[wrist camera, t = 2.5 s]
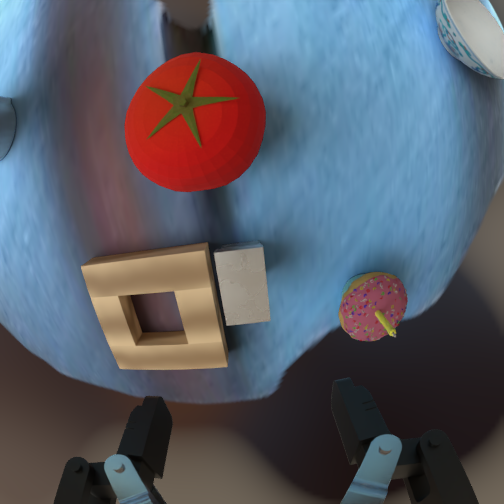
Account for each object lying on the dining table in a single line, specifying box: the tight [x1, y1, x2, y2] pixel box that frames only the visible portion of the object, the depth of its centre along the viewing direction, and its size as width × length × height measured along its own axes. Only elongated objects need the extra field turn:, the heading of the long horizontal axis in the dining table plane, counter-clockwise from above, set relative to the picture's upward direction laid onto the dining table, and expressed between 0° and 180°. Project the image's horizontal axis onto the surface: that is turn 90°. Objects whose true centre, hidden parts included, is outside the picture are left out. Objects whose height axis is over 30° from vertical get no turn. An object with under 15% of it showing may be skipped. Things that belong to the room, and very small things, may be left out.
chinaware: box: [436, 0, 504, 79], centre depth 17 cm, size 15×15×8 cm
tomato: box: [125, 52, 266, 192], centre depth 20 cm, size 11×11×13 cm
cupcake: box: [339, 272, 407, 341], centre depth 26 cm, size 9×8×12 cm
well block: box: [81, 242, 228, 370], centre depth 30 cm, size 15×15×3 cm
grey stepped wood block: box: [214, 240, 270, 326], centre depth 27 cm, size 7×4×8 cm, turn 7°
